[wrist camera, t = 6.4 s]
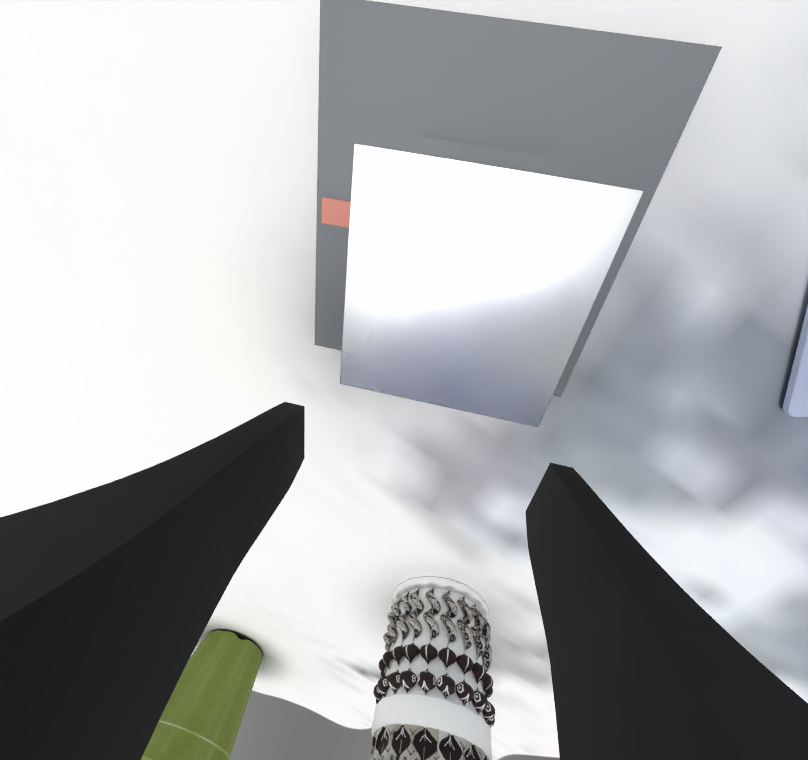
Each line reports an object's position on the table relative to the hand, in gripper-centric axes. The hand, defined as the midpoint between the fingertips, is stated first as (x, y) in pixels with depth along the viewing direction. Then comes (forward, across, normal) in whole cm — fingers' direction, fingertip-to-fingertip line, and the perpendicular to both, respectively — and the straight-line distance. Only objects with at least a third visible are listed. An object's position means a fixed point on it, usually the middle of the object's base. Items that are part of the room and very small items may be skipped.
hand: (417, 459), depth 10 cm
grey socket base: (+9, 0, -6) cm, 10 cm away
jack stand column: (+4, 0, -5) cm, 7 cm away
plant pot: (+9, +16, +44) cm, 48 cm away
